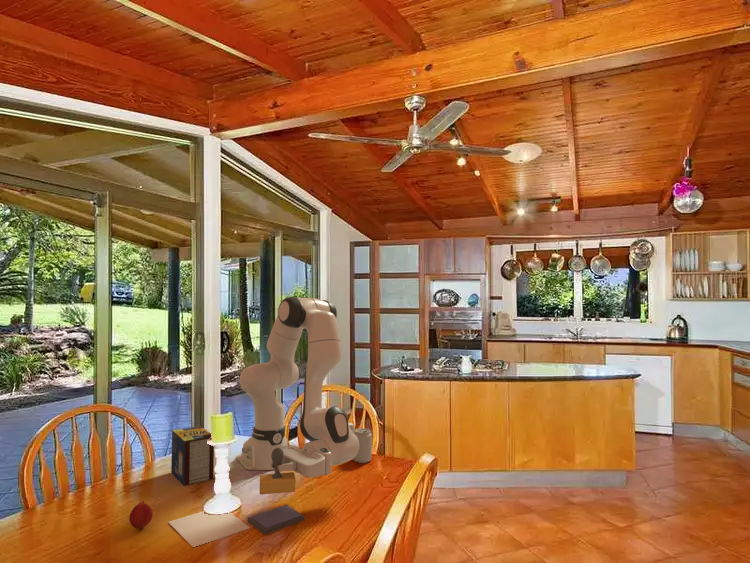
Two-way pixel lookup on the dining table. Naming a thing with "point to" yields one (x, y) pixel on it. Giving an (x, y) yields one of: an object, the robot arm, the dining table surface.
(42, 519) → the dining table surface
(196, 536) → the paper
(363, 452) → the can
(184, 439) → the protein box
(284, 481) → the rubber stamp
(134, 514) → the onion
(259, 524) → the ink pad
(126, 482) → the dining table surface
